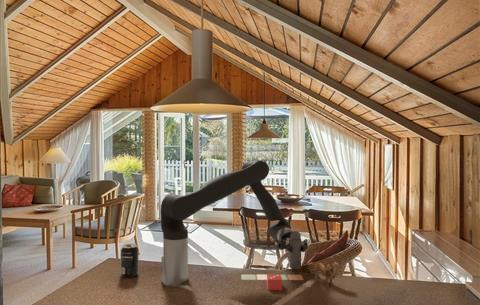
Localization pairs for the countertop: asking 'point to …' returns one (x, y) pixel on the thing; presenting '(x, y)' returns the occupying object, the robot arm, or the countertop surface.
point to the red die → (274, 282)
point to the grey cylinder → (295, 250)
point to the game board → (284, 277)
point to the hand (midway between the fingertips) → (297, 249)
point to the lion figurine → (327, 271)
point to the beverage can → (129, 260)
